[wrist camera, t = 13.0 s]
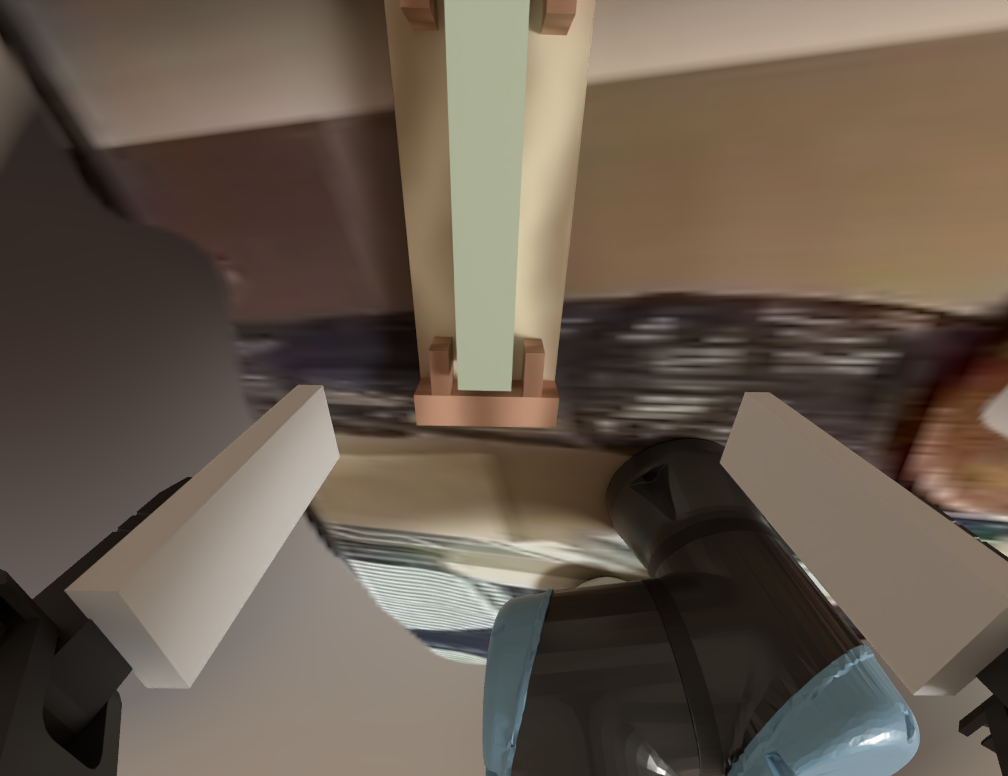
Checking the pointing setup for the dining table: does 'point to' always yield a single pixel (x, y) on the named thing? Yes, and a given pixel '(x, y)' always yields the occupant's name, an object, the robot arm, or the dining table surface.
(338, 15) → the dining table surface
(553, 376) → the slat cradle
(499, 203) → the slat
